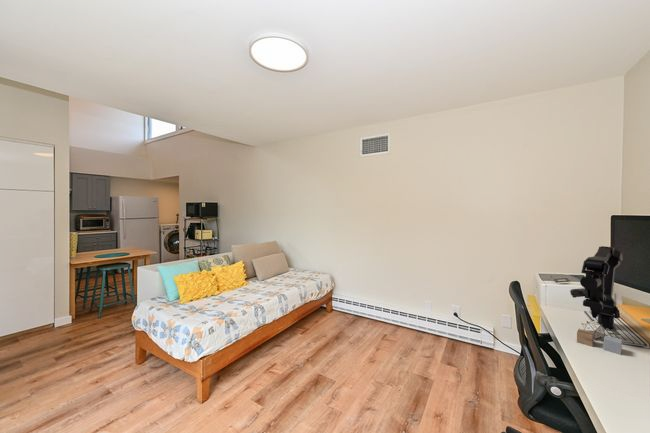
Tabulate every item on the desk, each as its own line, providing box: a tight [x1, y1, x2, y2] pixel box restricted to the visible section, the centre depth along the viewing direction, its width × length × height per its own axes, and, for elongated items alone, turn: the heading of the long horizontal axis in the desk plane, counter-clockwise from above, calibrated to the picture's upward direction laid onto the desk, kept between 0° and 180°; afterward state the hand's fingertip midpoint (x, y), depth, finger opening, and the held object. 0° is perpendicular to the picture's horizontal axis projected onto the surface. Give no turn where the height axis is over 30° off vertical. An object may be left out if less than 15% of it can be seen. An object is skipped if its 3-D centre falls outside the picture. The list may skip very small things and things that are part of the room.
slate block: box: [603, 334, 623, 356], centre depth 114 cm, size 5×5×5 cm
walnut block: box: [576, 328, 595, 348], centre depth 120 cm, size 5×5×5 cm
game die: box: [581, 318, 608, 341], centre depth 124 cm, size 9×8×10 cm
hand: (594, 317), depth 124 cm, fingers closed
